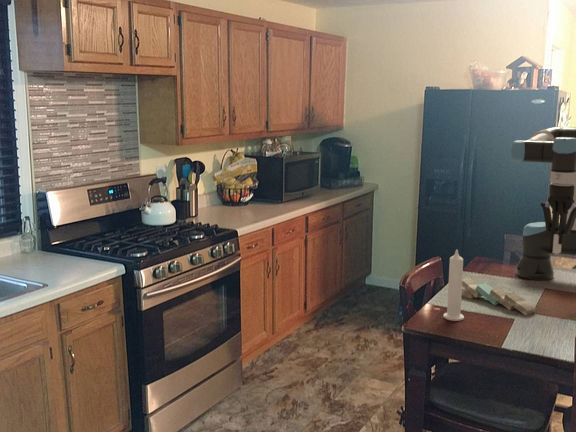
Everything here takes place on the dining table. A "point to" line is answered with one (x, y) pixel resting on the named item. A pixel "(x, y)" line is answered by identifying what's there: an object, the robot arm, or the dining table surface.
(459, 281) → the white post
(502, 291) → the tile
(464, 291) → the light brown flat block
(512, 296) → the tile
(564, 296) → the dining table surface
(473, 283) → the tile
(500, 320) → the dining table surface
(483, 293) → the tile
